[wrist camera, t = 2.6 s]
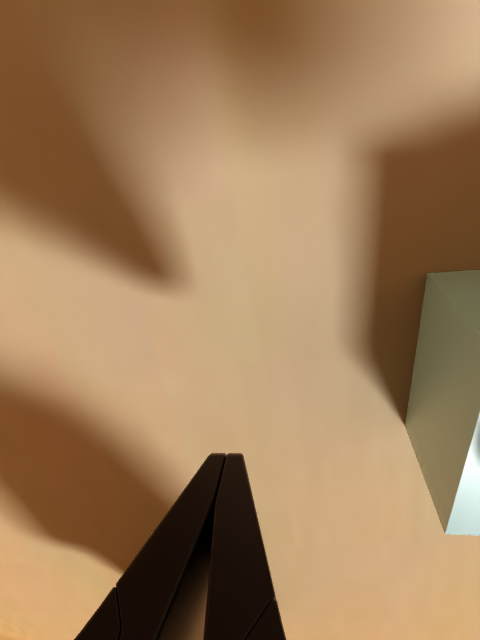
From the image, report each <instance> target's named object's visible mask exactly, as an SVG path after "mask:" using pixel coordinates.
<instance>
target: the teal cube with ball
mask: <svg viewBox="0 0 480 640" xmlns="http://www.w3.org/2000/svg"><path fill="white" fill-rule="evenodd" d="M405 427H406V430H407V433H408V435H409V438H410V441H411V443H412V446H413V449H414V452H415V454H416V457H417V460H418V462H419V465H420V468H421V470H422V473H423V476H424V479H425V481H426V484H427V487H428V489H429V492H430V495H431V497H432V500H433V503H434V506H435V508H436V511H437V514H438V516H439V519H440V522H441V524H442V527H443V530H444V533H445V534H454V535H476V536H480V270H465V271H451V272H436V273H427V279H426V286H425V292H424V299H423V306H422V313H421V320H420V327H419V333H418V340H417V347H416V354H415V361H414V367H413V374H412V381H411V388H410V395H409V402H408V408H407V415H406V422H405Z"/></svg>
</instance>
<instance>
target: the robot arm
mask: <svg viewBox="0 0 480 640" xmlns="http://www.w3.org/2000/svg"><path fill="white" fill-rule="evenodd" d="M74 640H286V637H285V633H284V629H283V625H282V621H281V617H280V612H279V608H278V604H277V601H276V596H275V591H274V587H273V583H272V578H271V574H270V570H269V565H268V561H267V557H266V552H265V548H264V544H263V539H262V535H261V531H260V526H259V522H258V517H257V513H256V509H255V504H254V500H253V496H252V491H251V487H250V483H249V478H248V474H247V470H246V465H245V461H244V457H243V454H241V453H229V454H227V455H226V454H225V453H212V454H210V455H209V456H208V457H207V459H206V460H205V461H204V463H203V464H202V466H201V467H200V468H199V470H198V471H197V473H196V474H195V475H194V477H193V478H192V479H191V481H190V482H189V484H188V485H187V486H186V488H185V489H184V491H183V492H182V493H181V495H180V496H179V497H178V499H177V500H176V502H175V503H174V504H173V506H172V507H171V509H170V510H169V511H168V513H167V514H166V515H165V517H164V518H163V520H162V521H161V522H160V524H159V525H158V527H157V528H156V529H155V531H154V532H153V533H152V535H151V536H150V538H149V539H148V540H147V542H146V543H145V545H144V546H143V547H142V549H141V550H140V551H139V553H138V554H137V556H136V557H135V558H134V560H133V561H132V563H131V564H130V565H129V567H128V568H127V569H126V571H125V572H124V574H123V575H122V576H121V578H120V579H119V581H118V582H117V583H116V587H114V588H112V590H111V591H110V593H109V594H108V595H107V597H106V598H105V600H104V601H103V602H102V604H101V605H100V607H99V608H98V609H97V611H96V612H95V613H94V615H93V616H92V617H91V618H90V620H89V621H88V622H87V624H86V625H85V626H84V628H83V629H82V630H81V632H80V633H79V634H78V635H77V637H76V638H75V639H74Z"/></svg>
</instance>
